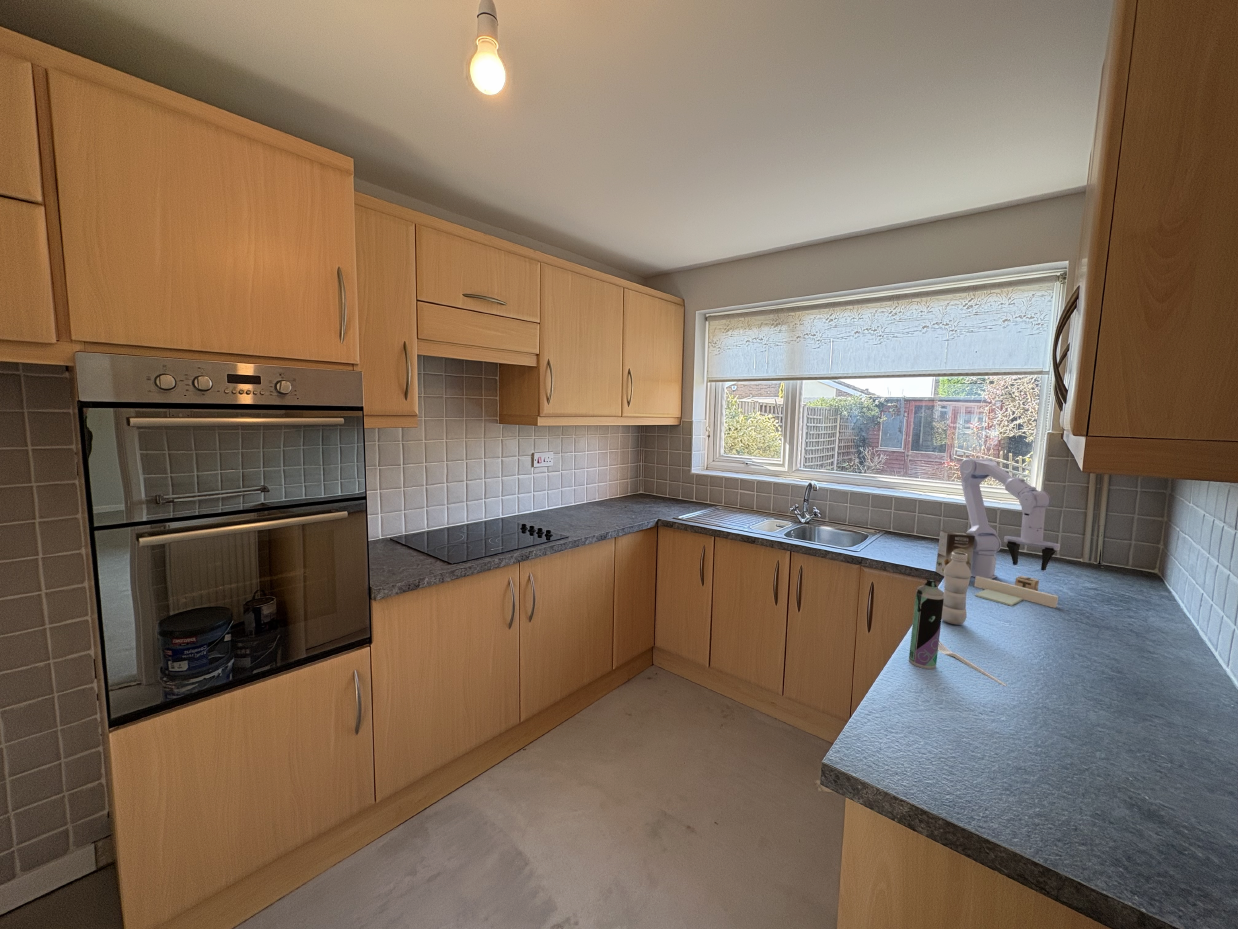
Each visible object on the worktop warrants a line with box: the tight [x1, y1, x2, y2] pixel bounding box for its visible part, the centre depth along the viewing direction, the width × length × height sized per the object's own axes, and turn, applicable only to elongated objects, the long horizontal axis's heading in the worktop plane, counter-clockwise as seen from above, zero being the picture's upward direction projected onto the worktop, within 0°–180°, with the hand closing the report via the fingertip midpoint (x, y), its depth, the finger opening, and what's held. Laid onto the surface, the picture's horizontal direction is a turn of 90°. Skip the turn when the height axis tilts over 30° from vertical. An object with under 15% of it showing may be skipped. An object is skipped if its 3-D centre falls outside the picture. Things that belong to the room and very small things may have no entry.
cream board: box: [974, 576, 1059, 609], centre depth 168 cm, size 2×22×4 cm, turn 36°
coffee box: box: [934, 529, 975, 577], centre depth 188 cm, size 9×6×16 cm
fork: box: [938, 640, 1008, 687], centre depth 119 cm, size 3×20×2 cm, turn 11°
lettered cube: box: [1014, 575, 1040, 591], centre depth 171 cm, size 5×5×5 cm
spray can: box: [908, 579, 944, 670], centre depth 117 cm, size 6×6×20 cm
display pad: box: [974, 589, 1023, 607], centre depth 165 cm, size 10×10×1 cm
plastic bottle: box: [941, 552, 972, 626], centre depth 142 cm, size 6×7×20 cm
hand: (1029, 567), depth 170 cm, fingers open, 7 cm apart
